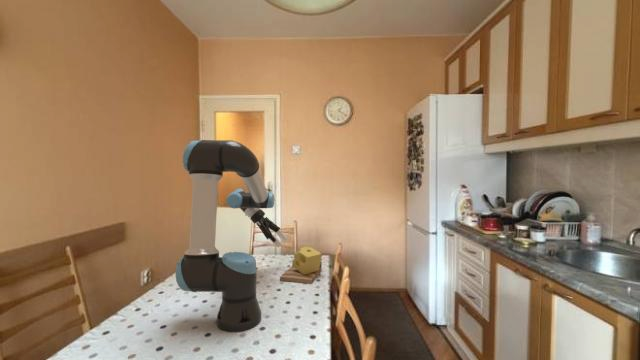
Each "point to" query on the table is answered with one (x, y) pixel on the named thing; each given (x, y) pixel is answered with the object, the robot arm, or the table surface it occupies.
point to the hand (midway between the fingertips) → (283, 242)
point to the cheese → (307, 260)
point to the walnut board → (299, 275)
